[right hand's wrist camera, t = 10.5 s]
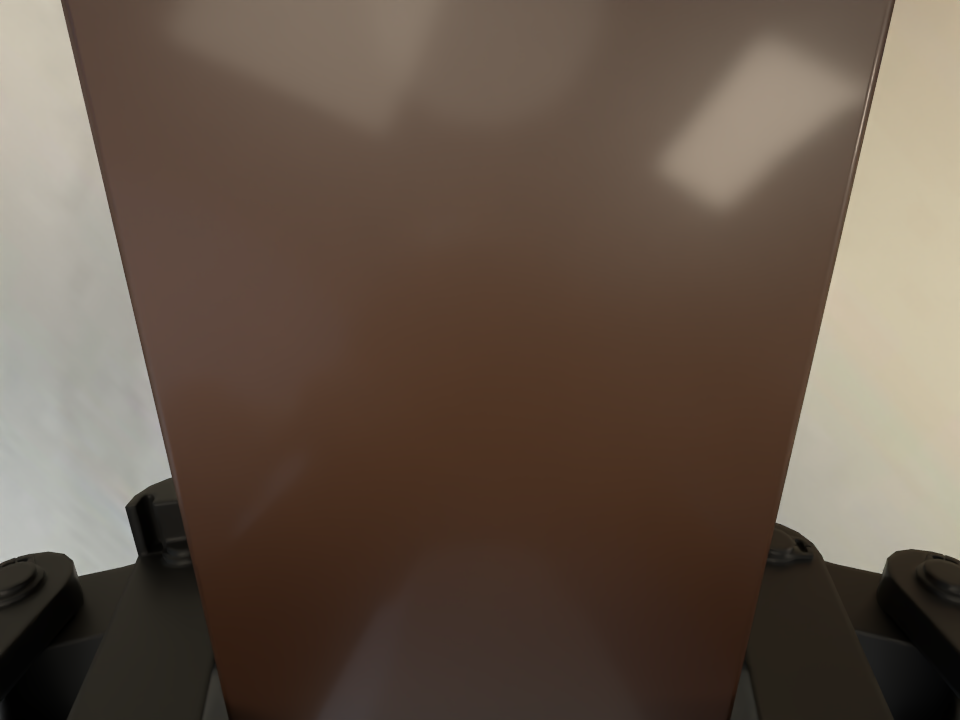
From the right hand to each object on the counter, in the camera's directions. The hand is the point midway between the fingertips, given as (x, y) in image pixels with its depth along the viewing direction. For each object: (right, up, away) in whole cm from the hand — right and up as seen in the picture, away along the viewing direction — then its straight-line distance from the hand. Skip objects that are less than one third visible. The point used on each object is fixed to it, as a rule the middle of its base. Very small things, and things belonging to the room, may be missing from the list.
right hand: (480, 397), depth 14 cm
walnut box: (0, +9, -3) cm, 9 cm away
